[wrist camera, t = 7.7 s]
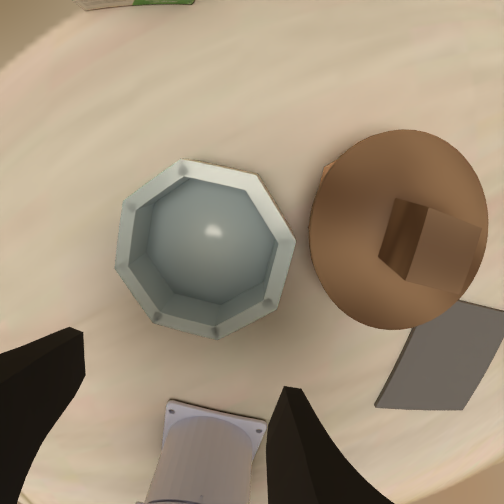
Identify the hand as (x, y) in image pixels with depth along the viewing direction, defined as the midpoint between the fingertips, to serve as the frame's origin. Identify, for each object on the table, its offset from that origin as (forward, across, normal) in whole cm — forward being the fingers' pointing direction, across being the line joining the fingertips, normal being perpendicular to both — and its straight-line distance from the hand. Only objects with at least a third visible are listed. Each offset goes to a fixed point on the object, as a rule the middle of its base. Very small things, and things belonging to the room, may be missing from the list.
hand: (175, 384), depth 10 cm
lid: (+7, -9, -6) cm, 13 cm away
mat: (+10, -19, +3) cm, 22 cm away
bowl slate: (+10, +1, -2) cm, 11 cm away
